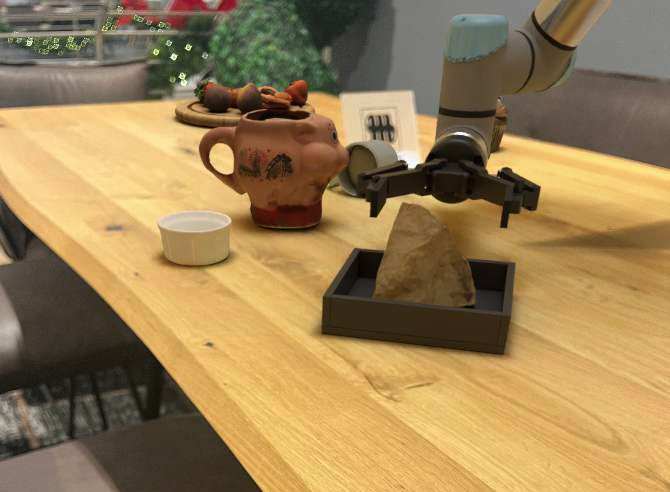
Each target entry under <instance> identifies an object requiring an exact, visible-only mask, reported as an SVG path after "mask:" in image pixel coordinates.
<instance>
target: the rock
mask: <svg viewBox="0 0 670 492" xmlns="http://www.w3.org/2000/svg"><path fill="white" fill-rule="evenodd" d="M383 251H384V255H383V259H382V261H381V264H380V267H379V269H378V272H377V277H376V281H375V286H374V291H373V297H372V298H373V299H383V300H392V301H402V302H411V303H421V304H430V305H440V306H449V307H464V306H471V305H476V290H475V287H474V283H473V279H472V274H471V268H470V266H469V263H468V261H467V260H466V259H465V258H466V257H464V255H463V254H462V252H461V250H460V249H459V246H458V244H457V242H456V241H455V240H454V238H453V236H452V234H451V232H450V230H449V227H448V225H447V224H445V222H443V221H441V219H439V218H438V217H437V216H436V215H435V214H433V213H432V212H431V211H430V210H429V209H428V208H426V207H425V206H423V205H421V204H418V203H414V202H411V203H408V202H405V201H402V202H401V204H400V206H399V208H398V212H397V214H396V216H395V219H394V221H393V224H392V228H391V230H390V232H389V235H388V239H387V242H386V246H385V249H384V250H383Z"/></svg>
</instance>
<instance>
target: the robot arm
mask: <svg viewBox="0 0 670 492" xmlns="http://www.w3.org/2000/svg"><path fill="white" fill-rule="evenodd" d="M613 1H614V0H540V1H539V3H538V4H537V5H536V7H535V8H534V10H533V11H532V12H531V14H530V15H529V17H528V18H527V20H526V21H525V22H524V23H523V25H522V27H521V28H520V29H513V30H512V29H511V30H510V29H509V25H510V23H509V19H508V18H507V17H506V16H505V15H502V14H491V13H490V14H489V13H460V14H456V15H455V16H453V17H452V18H451V19H450V21H449V23H448V27H447V33H446V40H445V47H444V50H443V52H442V53H443V54H442V56H443V63H442V73H441V82H440V83H441V84H440V93H439V101H438V111H437V119H436V129H435V135H434V136H435V137H434V143H433V145H432V147H431V148H430V150H429V152H428V154H427V156H426V157H425V159H424V162H420V163H417V164H416V165H415V167H414V168H412V167H409V163H407V161H406V160H405V159H398V161H396V162H395V163H393V164H390V165H387V166H383V167H379V168H376V169H372V170H369V171H365V172H361V173H358V174H357V190H356V196H355V197H357V198H359V199H364V198H365V202H366V203H369V218H373V219H377V218H378V216H379V215H380V214H381V212H382V210H383V208H384V207H385V205H386V204H387V199H392V198H398V197H403V196H408V195H409V196H410V195H415V196H419V197H427V196H431V197H432V198H433V199H435V200H437V201H438V202H440V203H443V204H448V205H456V204H461V203H463V202H466V201H467V200H471V201H478V200H479V201H480V200H483V201H485V202H488V203H491V204H493V205H496V206H499V207H501V214H500V222H499V229H508V226H509V220H510V215H520V214H521V212H522V209H524V210H526V211H529V212H535V211H537V210H538V206H539V200H540V195H541V189H542V186H540V185H539V184H537V183H536V182H533V181H532V180H529V179H528V178H525V177H524V176H521V175H520V174H518V173H515V172H514V170H513V168H512V167H509V166H504V167H501V169H497V172H496V173H489V170H488V169H487V166H488V162H489V160H490V159H491V154H492V152H491V149H492V135H493V128H494V121H495V115H496V109H497V102H498V96H501V97H503V96H509V95H519V94H528V93H539V92H541V93H542V92H544V91H547V90H549V89H553V88H556V87H558V86H560V85H562V84H563V83H565V81H566V80H567V79H568V78H569V77H570V76H571V74H572V73H573V71H574V68H575V64H576V61H577V57H578V46H579V45H580V44H581V43H582V41H583V40H584V39H585V37H586V36H587V35H588V34H589V32H591V29H593V27H594V26H595V25H596V24H597V22H598V21H599V19H600V18H601V17H602V16H603V14H604V13H605V12H606V10H608V8H609V6H610V5H611V4H612V3H613Z"/></svg>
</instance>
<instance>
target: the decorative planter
mask: <svg viewBox="0 0 670 492" xmlns="http://www.w3.org/2000/svg"><path fill="white" fill-rule="evenodd" d="M218 144H222V145H226V146H228V148H230V150H231V152H232V155H233V171H232V172H231V173H227V174H225V173H223V172H221V171H219V170H218V169H216V168H215V167H214V165H213V164H212V163H211V158H210V154H211V151H212V150H213V148H214V147H215V146H216V145H218ZM345 147H346V146H344V145H343V144H342V143H341V141H340V139H339V136H338V131H337V127H336V125H335V123H334V121H333V119H331V118H329V117H327V116H325V115H322V114H318V113H316V112H315V113H313V112H310V111H292V110H275V109H263V110H256V111H252V112H249V113H246V114H244V115H242V116H241V118H240V121H239V124H238V125H237V126H236V127H215V128H214V127H213V128H212V129H210V130H208V131H207V132H205V133H204V134H203V136H202V137H201V140H200V142H199V144H198V153H199V157H200V161H201V162H202V164H203V166H204V168H205V169H206V170H207V171H209V173H211V174H212V175H213V176H214V177H215V178H216V179H218V180H219V181H221V183H222V184H223V185H225V186H227V187H228V188H229V189H231V190H233V191H234V192H235V193H237V194H239V195H240V196H243V195H246V194H247V196H248V198H249V202H250V207H249V212H250V216H251V219H252V221H253V223H254V224H255V225H257V226H259V227H260V226H261V227H264V228H272V229H273V228H275V229H303V228H304V229H305V228H309V227H313V226H316V225H317V224H318V223H319V222H321V220H322V217H323V196H324V193H325V191H326V189H327V187H328V186H329V182H330V181H331V180H332V179H333V178H334V177H335V176H337V175H338V174H339V173H340V172H342V171H343V170H344V169H345V168H346V166H347V165H348V162H349V152H348V150H347V149H346V148H345Z"/></svg>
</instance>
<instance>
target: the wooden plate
mask: <svg viewBox="0 0 670 492" xmlns="http://www.w3.org/2000/svg"><path fill="white" fill-rule="evenodd" d="M210 80H211V78H207V79H205V80H203V81H200V82H196V83H195V87H196V88H194V90H193V93H192V94H194V97H195V98H196V99H191V100H186V101H183V102H181V103H179V104H177V105H176V107H175V109H174V114H175V116H176V118H178V119H179V120H180V121H182V122H185V123H189V124H193V125H197V126H198V125H199V126H204V127H205V126H206V127H213V128H214V127H215V128H217V127H236V126H237V125H238V124H239V121H240V118H241V116H242V115H244V114H246V113H249V112H252V111H256V110H263V109H275V110H292V111H310V112H313V113H316V109H315V107H314V105H312V104H310V103H308V102H307V101H308V98H309V91H308V90H309V89H308V88H309V87H308V84H307V82H306V81H305V80H303V79H297V80H295V81H291V83H289V84H288V86H287V87H285V88H284V89H283V92H282V91H281V92H279V91H278V90H276V89H275V88H274V87H272V86H268V85H264V86H261V87H257V86H256V85H255V83H254V82H249V83H248V84H246V85H245V86H243V87H236V88H235V87H234V88H233V87H228V86H223V85H221V84H220V83H218V82H215V81H210Z"/></svg>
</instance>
